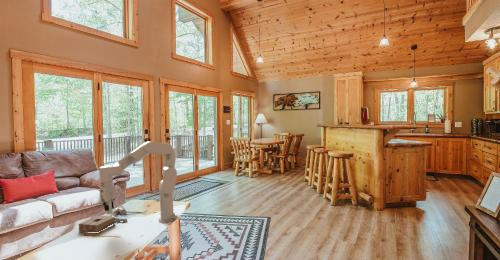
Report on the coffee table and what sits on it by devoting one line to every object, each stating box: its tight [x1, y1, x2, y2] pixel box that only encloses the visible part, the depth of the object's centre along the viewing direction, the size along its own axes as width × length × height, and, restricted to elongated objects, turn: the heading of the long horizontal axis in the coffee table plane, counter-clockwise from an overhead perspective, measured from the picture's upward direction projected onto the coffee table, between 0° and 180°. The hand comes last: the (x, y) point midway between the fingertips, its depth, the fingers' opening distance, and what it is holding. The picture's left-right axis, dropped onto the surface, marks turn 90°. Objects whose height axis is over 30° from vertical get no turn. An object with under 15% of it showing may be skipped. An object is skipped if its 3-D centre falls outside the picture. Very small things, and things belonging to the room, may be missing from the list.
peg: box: [106, 200, 113, 215], centre depth 180 cm, size 4×4×12 cm
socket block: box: [78, 215, 116, 234], centre depth 188 cm, size 16×16×6 cm
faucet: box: [109, 204, 146, 223], centre depth 211 cm, size 5×28×28 cm
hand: (109, 209), depth 180 cm, fingers closed on peg, 3 cm apart
